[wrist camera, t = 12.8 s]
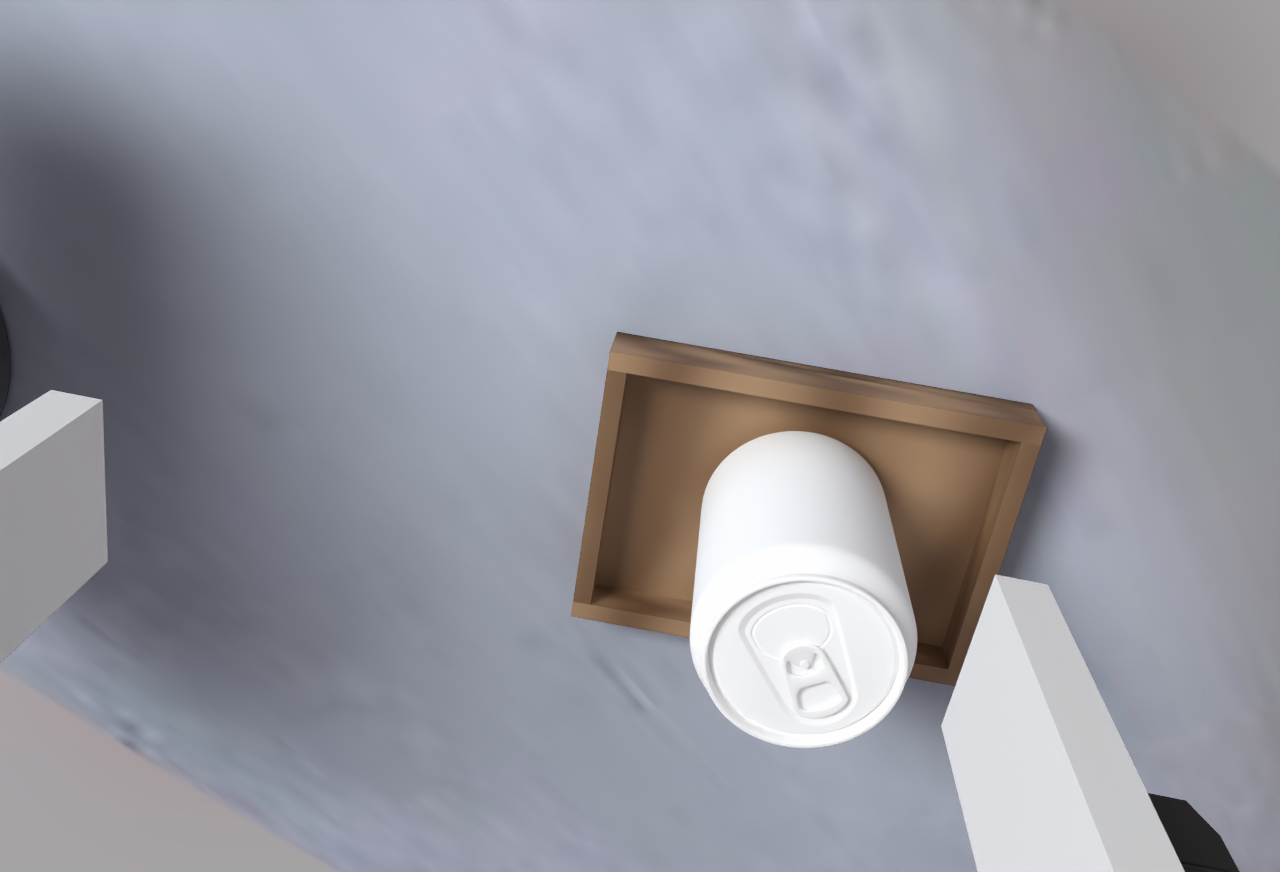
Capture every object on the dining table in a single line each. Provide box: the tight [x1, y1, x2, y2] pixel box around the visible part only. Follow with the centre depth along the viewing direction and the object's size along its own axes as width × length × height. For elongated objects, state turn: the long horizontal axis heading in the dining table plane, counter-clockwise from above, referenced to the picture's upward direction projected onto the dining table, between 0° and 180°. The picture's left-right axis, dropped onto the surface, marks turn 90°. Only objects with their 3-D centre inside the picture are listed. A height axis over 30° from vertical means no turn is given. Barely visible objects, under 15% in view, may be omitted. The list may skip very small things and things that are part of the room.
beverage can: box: [690, 431, 917, 748], centre depth 44 cm, size 8×8×12 cm
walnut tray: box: [571, 332, 1047, 686], centre depth 49 cm, size 18×13×3 cm
